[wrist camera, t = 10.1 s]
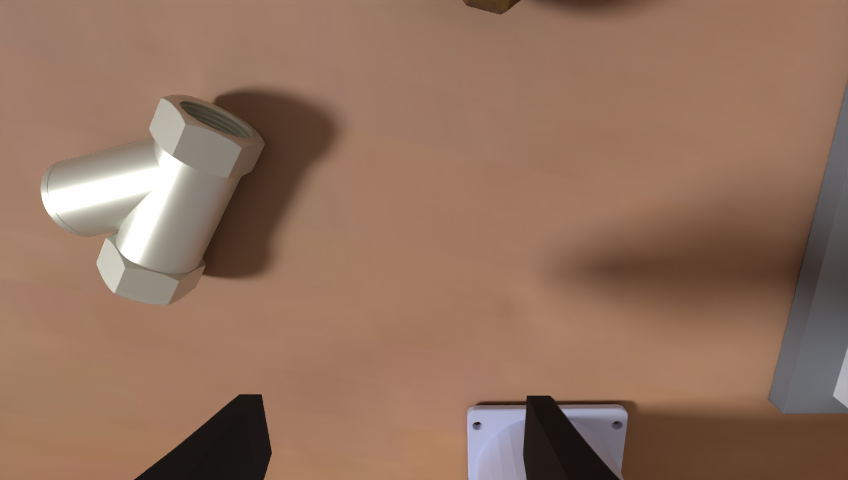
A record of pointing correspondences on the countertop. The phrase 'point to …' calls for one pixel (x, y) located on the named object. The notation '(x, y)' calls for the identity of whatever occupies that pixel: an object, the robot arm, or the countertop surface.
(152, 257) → the pipe fitting
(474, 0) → the potato
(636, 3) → the countertop surface
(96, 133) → the countertop surface
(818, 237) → the board
